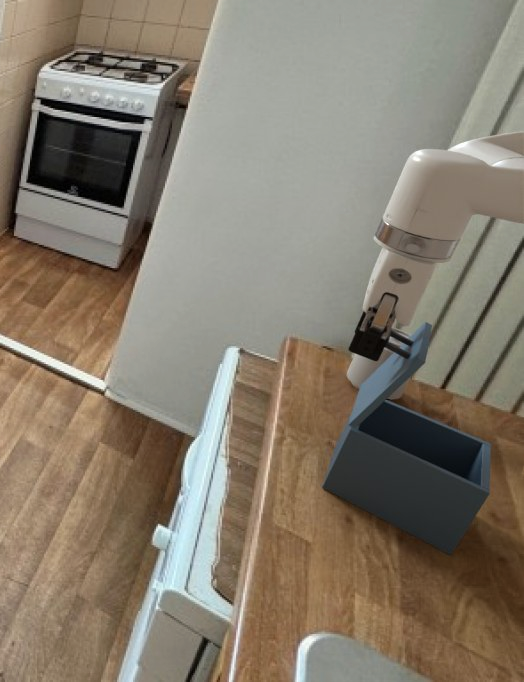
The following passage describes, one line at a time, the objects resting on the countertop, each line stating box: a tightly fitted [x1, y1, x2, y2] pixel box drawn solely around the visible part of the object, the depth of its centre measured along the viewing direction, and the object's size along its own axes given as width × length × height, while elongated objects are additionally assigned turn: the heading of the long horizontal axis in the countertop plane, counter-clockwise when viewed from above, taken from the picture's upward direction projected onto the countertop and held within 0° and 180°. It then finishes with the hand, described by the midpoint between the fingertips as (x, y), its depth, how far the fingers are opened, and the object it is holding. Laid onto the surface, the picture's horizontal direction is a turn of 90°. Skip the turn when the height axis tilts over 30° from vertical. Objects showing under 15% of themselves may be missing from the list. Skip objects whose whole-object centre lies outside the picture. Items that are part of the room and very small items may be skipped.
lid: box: [348, 321, 433, 429], centre depth 88 cm, size 14×12×5 cm
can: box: [346, 326, 412, 400], centre depth 108 cm, size 8×8×12 cm
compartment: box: [321, 400, 492, 556], centre depth 88 cm, size 14×12×12 cm
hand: (365, 345), depth 88 cm, fingers closed on lid, 5 cm apart
